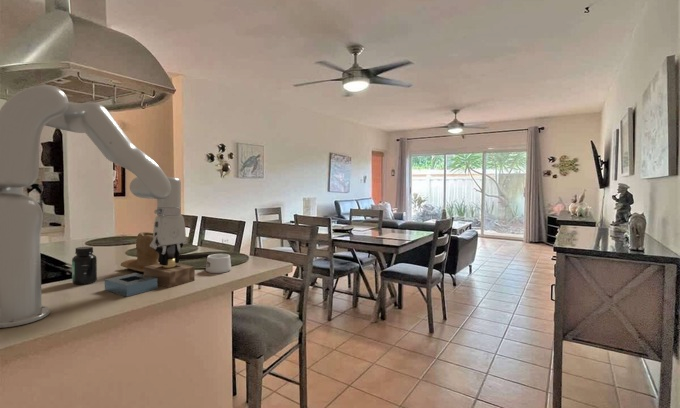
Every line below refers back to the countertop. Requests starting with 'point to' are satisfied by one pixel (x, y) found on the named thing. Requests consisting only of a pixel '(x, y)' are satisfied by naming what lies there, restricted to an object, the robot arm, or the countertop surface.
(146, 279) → the socket block
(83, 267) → the supplement bottle
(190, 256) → the wrench
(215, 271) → the mug
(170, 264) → the two-tone roller
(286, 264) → the countertop surface
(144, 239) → the tan boot
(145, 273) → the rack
